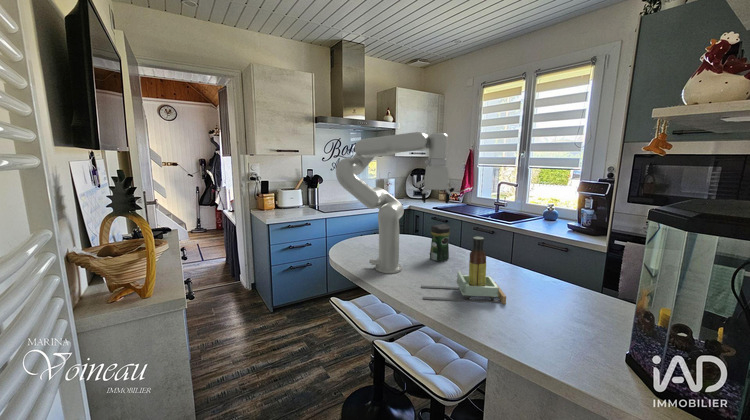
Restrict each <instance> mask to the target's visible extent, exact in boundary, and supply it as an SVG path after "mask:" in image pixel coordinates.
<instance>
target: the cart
mask: <svg viewBox="0 0 750 420" xmlns="http://www.w3.org/2000/svg"><path fill="white" fill-rule="evenodd" d="M456 275H457V276H456V284H457V287H459V289H460V290H459V291H460V292H461V295H462V296H464V297H465V298H466V299H471V297H474V296H476V297H488V298H489V300H496V297H497V298H498V293H499V288H500V286H499V285H498V284H497V282H496V281H495V280H493V278H492V277H491V276H490V275H486V284H485V286H469V274H468V275H467V274H464V275H463V274H462V272H461V271H460V270H457V273H456ZM495 282H496V283H495ZM496 284H497V285H498V286H499V287H498V286H497V285H496Z"/></svg>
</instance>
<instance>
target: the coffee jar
mask: <svg viewBox="0 0 750 420" xmlns="http://www.w3.org/2000/svg"><path fill="white" fill-rule="evenodd" d="M450 233H451V229H450V225H449V224H445V223H443V224H441V223H440V224H435V225H432V226H431V227H430V236H431V244H430V252H429V259H430V260H431V261H433V262H439V263H440V262H444V261H447V260H449V259H450V251H449V248H450V247H449V240H450Z"/></svg>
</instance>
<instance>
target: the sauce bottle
mask: <svg viewBox="0 0 750 420" xmlns="http://www.w3.org/2000/svg"><path fill="white" fill-rule="evenodd" d="M472 242H473V243H472V249H471V251H470V252H469V261H468V262H469V263H468V275H469V286H485V284H486V276H487V254H486V251H485V250H484V243H485V238H484V237H483V236H473V237H472Z"/></svg>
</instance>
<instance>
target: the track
mask: <svg viewBox="0 0 750 420" xmlns="http://www.w3.org/2000/svg"><path fill="white" fill-rule="evenodd" d="M494 282H495V283H496V285H497V286H498V287H499V293H498V297H497V299H494V300H490V299H484V298H470V299H466V298H464V297H463V298H461V297H444V296H443V297H441V296H440V297H438V296H436V297H435V296H422V300H424V301H425V300H427V301H447V302H449V301H450V302H466V303H467V302H470V303H473V302H474V303H494V304H502V305H506V303H507V295H506V294H505V293H504V291H503V290H502V289H501V288H500V286H499V285H498V284H497V282H496V281H494ZM420 289H435V290H436V289H437V290H439V289H440V290H459V291H460V289H459V287H458V286H444V285H443V286H442V285H420Z"/></svg>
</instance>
